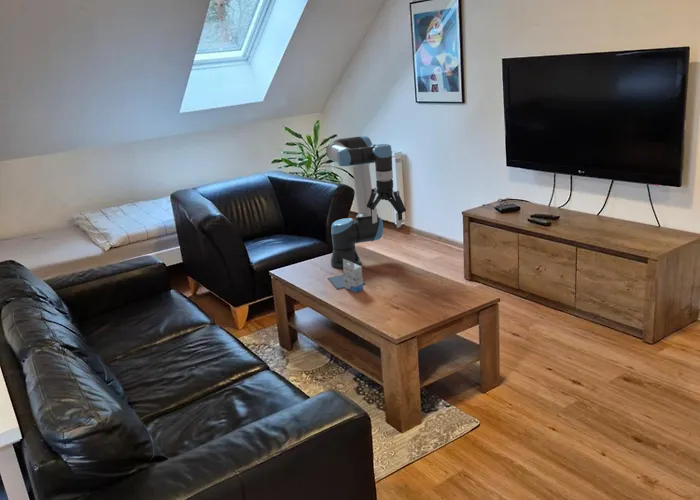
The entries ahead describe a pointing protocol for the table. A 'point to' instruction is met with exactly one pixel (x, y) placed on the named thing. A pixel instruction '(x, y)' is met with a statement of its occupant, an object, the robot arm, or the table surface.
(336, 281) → the mat
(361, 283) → the ink box
